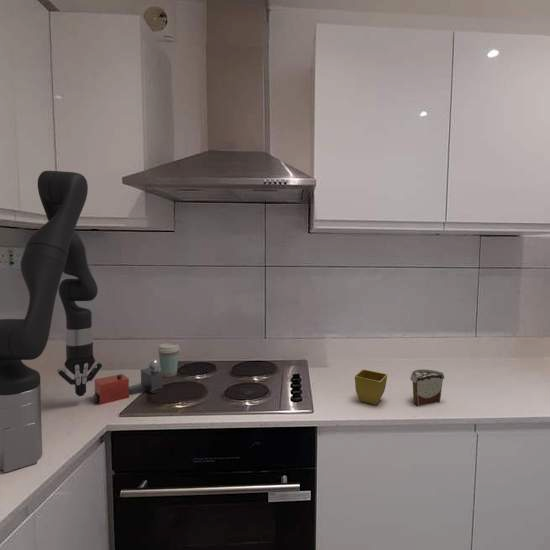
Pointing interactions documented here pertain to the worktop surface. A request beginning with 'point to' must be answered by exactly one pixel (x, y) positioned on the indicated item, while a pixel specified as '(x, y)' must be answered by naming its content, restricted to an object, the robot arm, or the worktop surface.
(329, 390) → the worktop surface
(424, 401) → the food container
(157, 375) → the grey bar with block
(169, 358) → the coffee cup
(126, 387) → the red box with knob
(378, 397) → the flower pot
